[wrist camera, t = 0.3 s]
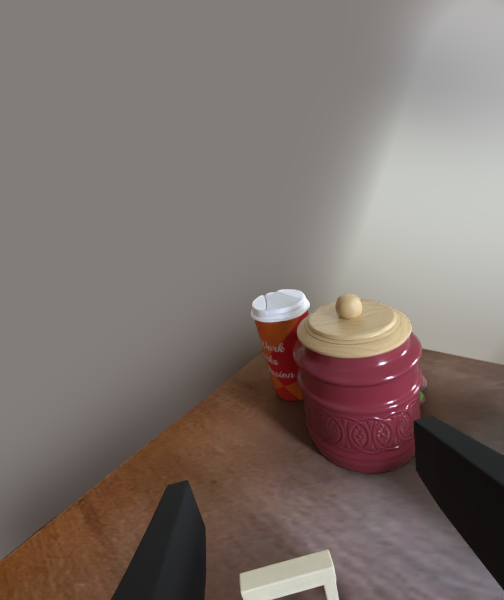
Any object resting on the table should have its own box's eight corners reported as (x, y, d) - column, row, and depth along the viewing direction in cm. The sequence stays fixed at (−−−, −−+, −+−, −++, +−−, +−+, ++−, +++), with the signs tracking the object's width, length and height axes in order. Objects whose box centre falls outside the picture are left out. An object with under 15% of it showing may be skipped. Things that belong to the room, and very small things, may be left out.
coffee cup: (262, 382, 48) (242, 298, 43) (307, 365, 49) (293, 283, 44) (280, 415, 40) (258, 318, 35) (333, 394, 42) (320, 299, 36)
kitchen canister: (411, 393, 39) (408, 267, 33) (435, 486, 28) (438, 321, 21) (313, 390, 43) (294, 279, 37) (300, 468, 32) (270, 328, 26)
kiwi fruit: (380, 391, 40) (379, 376, 39) (406, 376, 42) (406, 361, 41) (415, 414, 36) (415, 397, 35) (444, 396, 37) (445, 379, 36)
